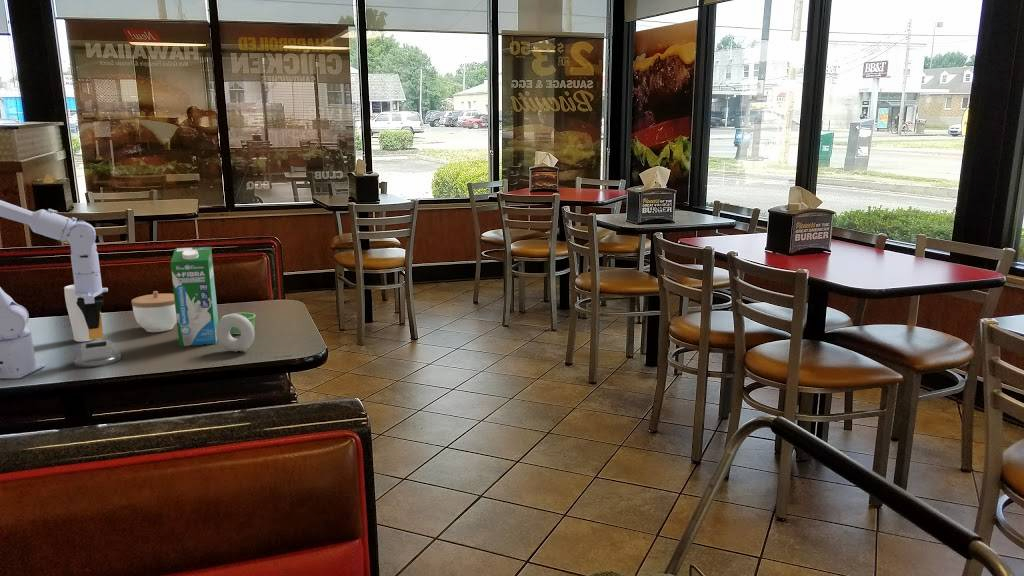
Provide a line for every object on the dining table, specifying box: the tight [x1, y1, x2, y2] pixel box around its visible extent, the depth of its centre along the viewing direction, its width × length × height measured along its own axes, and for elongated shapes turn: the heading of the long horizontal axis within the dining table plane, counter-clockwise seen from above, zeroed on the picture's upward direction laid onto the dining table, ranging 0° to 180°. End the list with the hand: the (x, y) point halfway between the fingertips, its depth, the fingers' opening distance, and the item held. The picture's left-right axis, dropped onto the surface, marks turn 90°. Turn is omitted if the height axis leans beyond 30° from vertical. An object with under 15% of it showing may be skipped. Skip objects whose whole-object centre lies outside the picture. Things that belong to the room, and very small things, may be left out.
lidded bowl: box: [131, 290, 177, 333], centre depth 210 cm, size 13×13×11 cm
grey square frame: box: [73, 339, 122, 369], centre depth 182 cm, size 10×10×4 cm
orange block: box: [88, 311, 104, 340], centre depth 180 cm, size 3×3×6 cm
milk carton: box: [170, 246, 219, 347], centre depth 197 cm, size 9×9×25 cm
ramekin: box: [221, 312, 256, 335], centre depth 209 cm, size 9×9×4 cm
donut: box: [216, 313, 256, 353], centre depth 188 cm, size 10×4×10 cm, turn 84°
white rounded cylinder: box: [63, 284, 95, 343], centre depth 199 cm, size 7×7×15 cm
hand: (93, 326), depth 180 cm, fingers closed on orange block, 3 cm apart
